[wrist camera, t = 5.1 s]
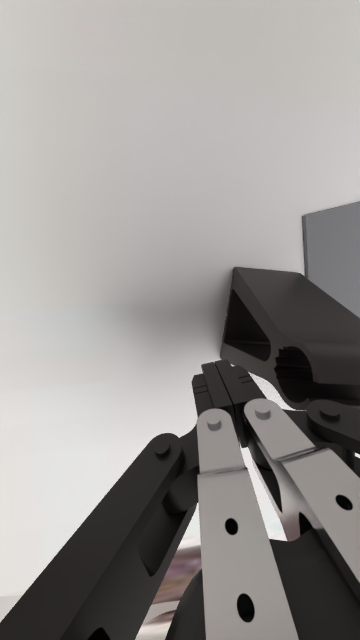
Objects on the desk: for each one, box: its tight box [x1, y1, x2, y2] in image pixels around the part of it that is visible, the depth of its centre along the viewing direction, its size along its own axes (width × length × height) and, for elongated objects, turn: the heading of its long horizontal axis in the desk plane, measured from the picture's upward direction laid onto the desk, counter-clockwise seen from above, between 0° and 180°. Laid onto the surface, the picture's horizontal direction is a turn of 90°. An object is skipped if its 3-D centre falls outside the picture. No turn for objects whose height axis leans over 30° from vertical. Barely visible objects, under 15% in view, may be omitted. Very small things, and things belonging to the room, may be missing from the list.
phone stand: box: [220, 267, 360, 411], centre depth 13 cm, size 9×6×12 cm, turn 175°
